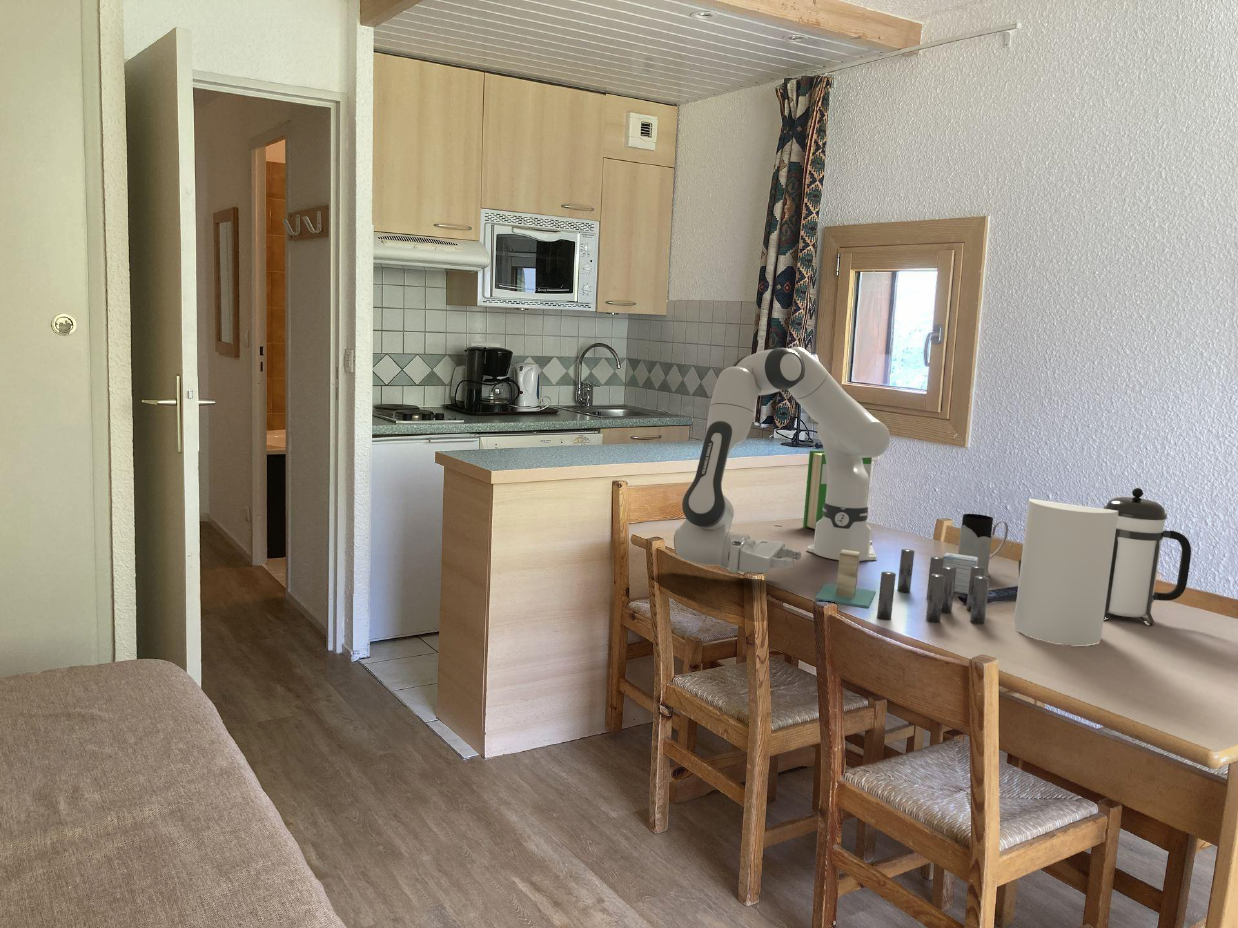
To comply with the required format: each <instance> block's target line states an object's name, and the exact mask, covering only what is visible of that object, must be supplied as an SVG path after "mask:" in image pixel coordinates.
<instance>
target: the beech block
mask: <svg viewBox="0 0 1238 928" xmlns="http://www.w3.org/2000/svg"><path fill="white" fill-rule="evenodd" d="M859 554H860V552H857V551H849V550H842V551H841V552H840V557H839V560H838V566H837V567H838V570H837V580H836V585H837V588H836V595H838V596H845V597H851V598H854V596H855V594H856V588H857V585H858V583H857V582H858V576H859V575H858V573H859V564H860V561H859Z"/></svg>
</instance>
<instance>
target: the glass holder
mask: <svg viewBox="0 0 1238 928" xmlns="http://www.w3.org/2000/svg"><path fill="white" fill-rule="evenodd" d="M961 521H962V522H961V526H960V532H959V533H960V534H959V541H958V549H957V554H960V555H967V556H973V557H978V566H982V567H985V574H984V576H985V577H989V576H990V573H989V563H990V560H991V559H992V558H993V557H994V556H995V555H996V554H997V553H998V552H999V551H1000V550H1002V548H1003V546H1004V545H1005V543H1006V541H1007V538H1008V534H1009V525H1008V523H1006V521H1003V520H999V521H997V522H995V524H994V523H993V522H994V517H992V516H990V515H985V514H979V513H963V514H962V520H961ZM1000 523H1003V524H1004V526H1005V532H1004V537H1003V540H1002V542H1000V545H999V546H998V548H996V550H995V551H994V552H993V553H991V547H992V540H993V539H992V538H993V537H994V536H995V534H996V529H997V526H998V525H1000ZM993 524H994V525H993ZM988 575H989V576H988Z"/></svg>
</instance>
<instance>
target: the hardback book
mask: <svg viewBox="0 0 1238 928" xmlns="http://www.w3.org/2000/svg"><path fill="white" fill-rule="evenodd" d="M872 458H873V457H870V458H862V460H863V465H864V468H865V471H866V473H867V474H868V477H869V482H870V481H871V470H872V469H871V468H872V461H873V459H872ZM807 468H808V469H807V476H806V477H807V478H806V479H807V480H806V489H805V501H804V511H803V523H802V528H804V529H814V530H815V529H816V523H817V522H818V521H819V520H821V519H822V518H823V506H824V502H826V489H827V465H826V459H825V453H824V450H809V456H808V466H807ZM869 489H870V487H869V488H868V492H869ZM868 500H869V499H867V502H868Z"/></svg>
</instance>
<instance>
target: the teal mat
mask: <svg viewBox="0 0 1238 928" xmlns="http://www.w3.org/2000/svg"><path fill="white" fill-rule="evenodd" d="M836 588H837V584H829V583H824V584H823V586H822V587H821V589H820V590H819V591H818V593H817V594H816V595H815V596H814V600H815V601H819V600H826V601H832V602H835V603H834V604H839V605H845V606H853V607H860V608H864V609H865V608H866V609H869V608H870V605H871V604H872V601H873V600H874V597H875V595H876V590H870V589H863V588H857V587H856V594H855V596H854V598H851V597H845V596H838V595H836ZM832 602H831V603H832Z"/></svg>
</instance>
